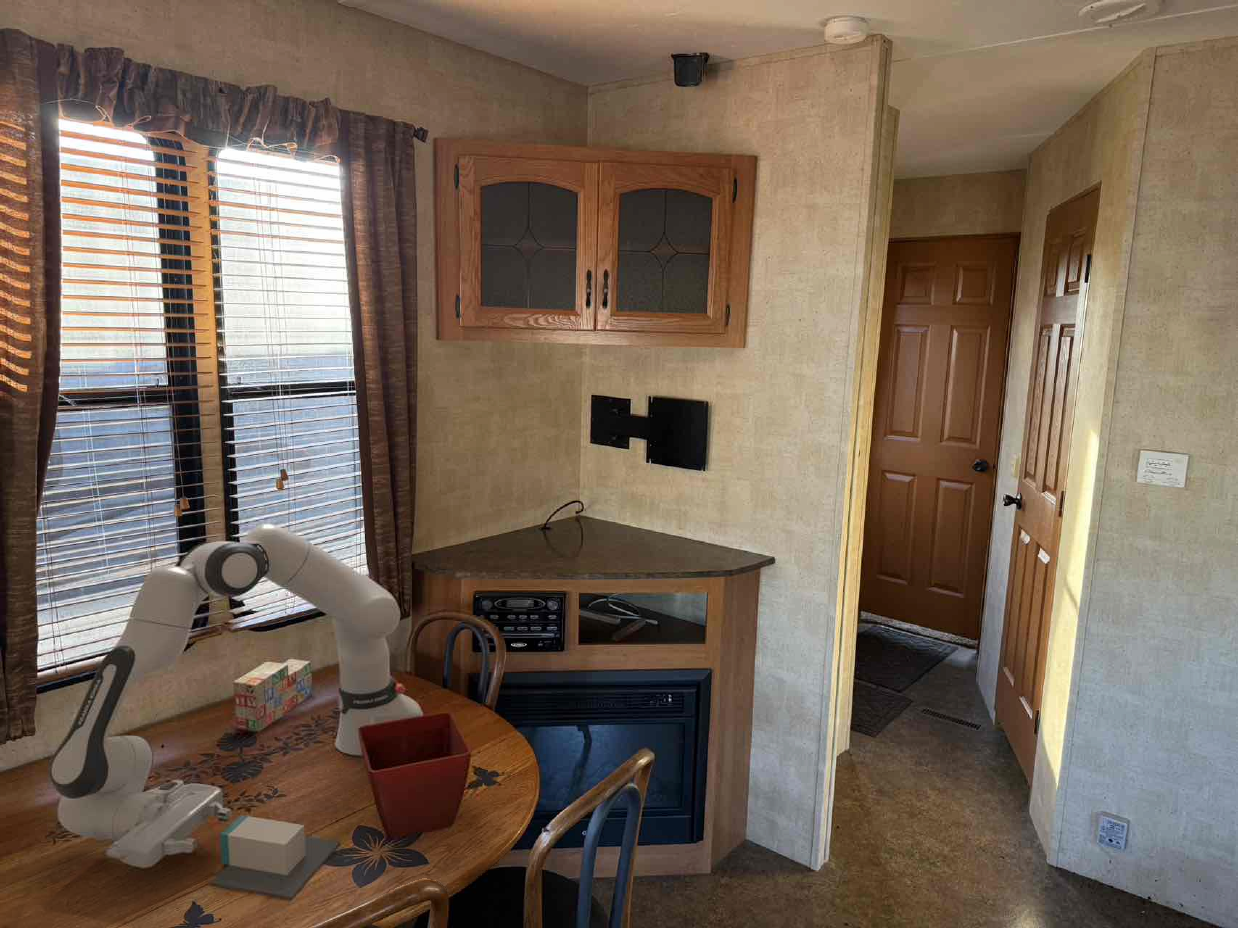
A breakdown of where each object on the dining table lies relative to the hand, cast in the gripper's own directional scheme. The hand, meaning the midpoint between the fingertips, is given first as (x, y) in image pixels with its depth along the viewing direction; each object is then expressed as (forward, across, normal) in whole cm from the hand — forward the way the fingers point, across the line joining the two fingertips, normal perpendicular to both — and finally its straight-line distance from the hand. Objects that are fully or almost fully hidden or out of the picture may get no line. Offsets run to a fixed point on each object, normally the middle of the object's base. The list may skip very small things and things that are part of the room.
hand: (212, 830), depth 155 cm
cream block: (0, +4, +4) cm, 6 cm away
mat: (+10, +4, +8) cm, 13 cm away
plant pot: (+27, +24, +8) cm, 37 cm away
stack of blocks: (-26, +58, +8) cm, 64 cm away
